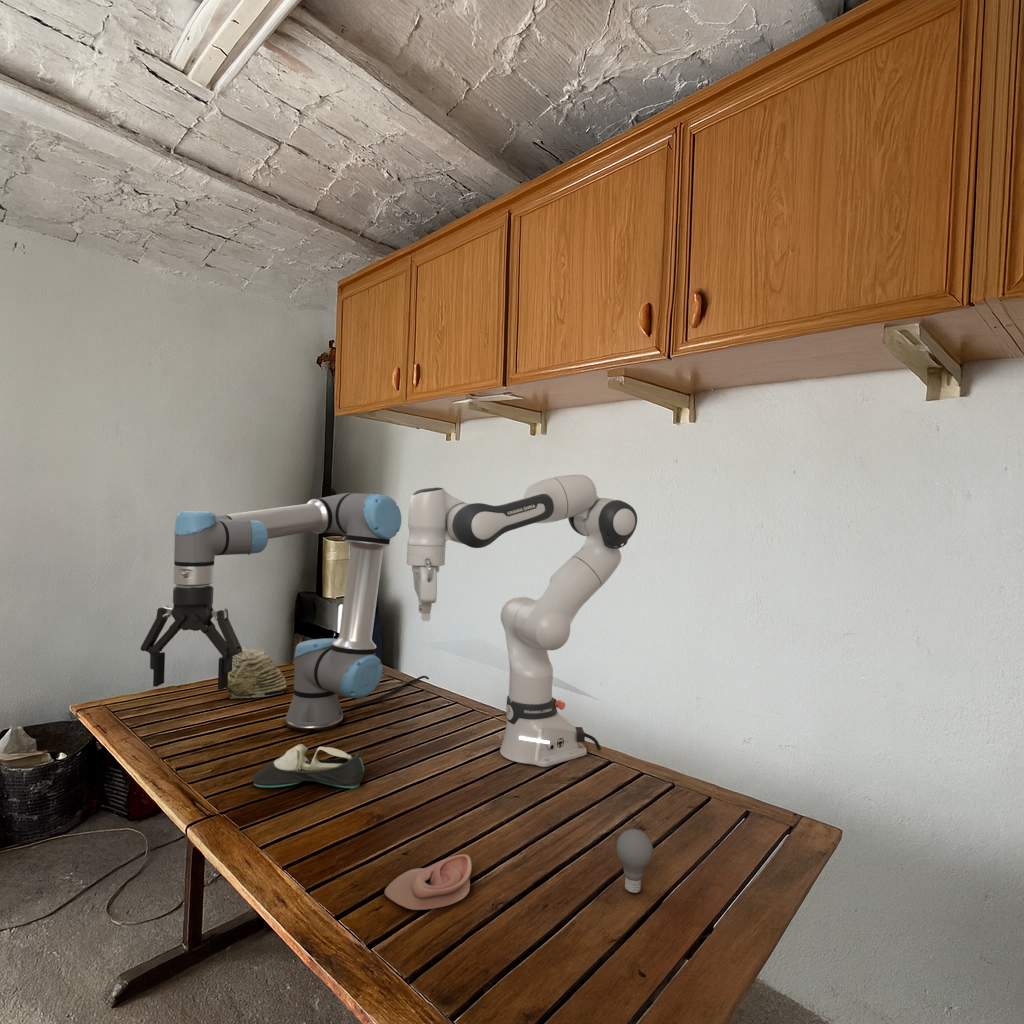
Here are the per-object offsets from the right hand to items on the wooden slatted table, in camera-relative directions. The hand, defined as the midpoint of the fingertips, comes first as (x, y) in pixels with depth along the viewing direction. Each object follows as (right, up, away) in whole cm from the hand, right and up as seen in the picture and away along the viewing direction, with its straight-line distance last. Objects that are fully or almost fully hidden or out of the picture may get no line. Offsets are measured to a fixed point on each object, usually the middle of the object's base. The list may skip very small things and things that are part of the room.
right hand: (424, 616), depth 147 cm
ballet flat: (-24, -36, -8) cm, 44 cm away
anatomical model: (+7, -38, -44) cm, 58 cm away
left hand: (-47, -12, -15) cm, 51 cm away
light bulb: (+41, -39, -42) cm, 70 cm away
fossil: (-60, -33, +51) cm, 85 cm away
